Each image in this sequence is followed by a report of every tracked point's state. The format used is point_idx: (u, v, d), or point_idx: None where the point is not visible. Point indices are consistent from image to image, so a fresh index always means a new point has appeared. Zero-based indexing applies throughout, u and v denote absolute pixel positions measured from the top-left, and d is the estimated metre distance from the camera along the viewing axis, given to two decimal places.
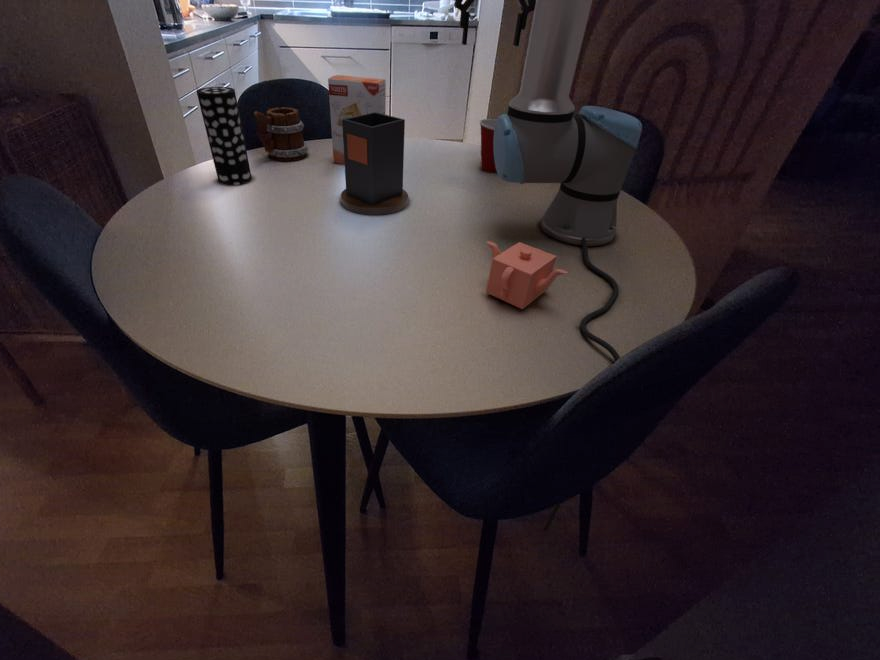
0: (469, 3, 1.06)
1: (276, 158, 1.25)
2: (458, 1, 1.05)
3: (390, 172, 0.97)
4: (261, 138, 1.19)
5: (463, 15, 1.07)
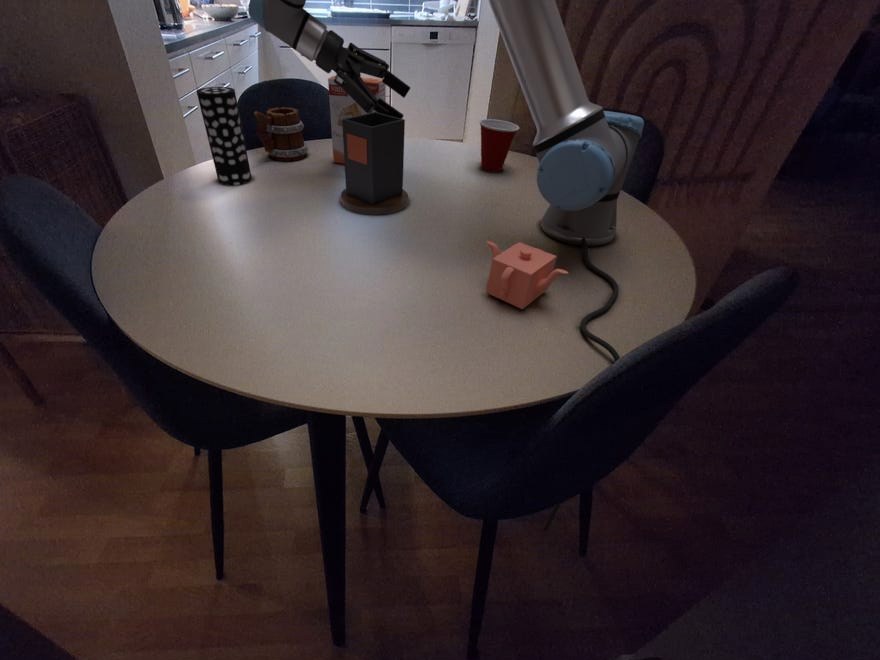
0: (372, 94, 0.97)
1: (276, 158, 1.25)
2: (369, 100, 0.95)
3: (390, 172, 0.97)
4: (261, 138, 1.19)
5: (379, 104, 0.98)
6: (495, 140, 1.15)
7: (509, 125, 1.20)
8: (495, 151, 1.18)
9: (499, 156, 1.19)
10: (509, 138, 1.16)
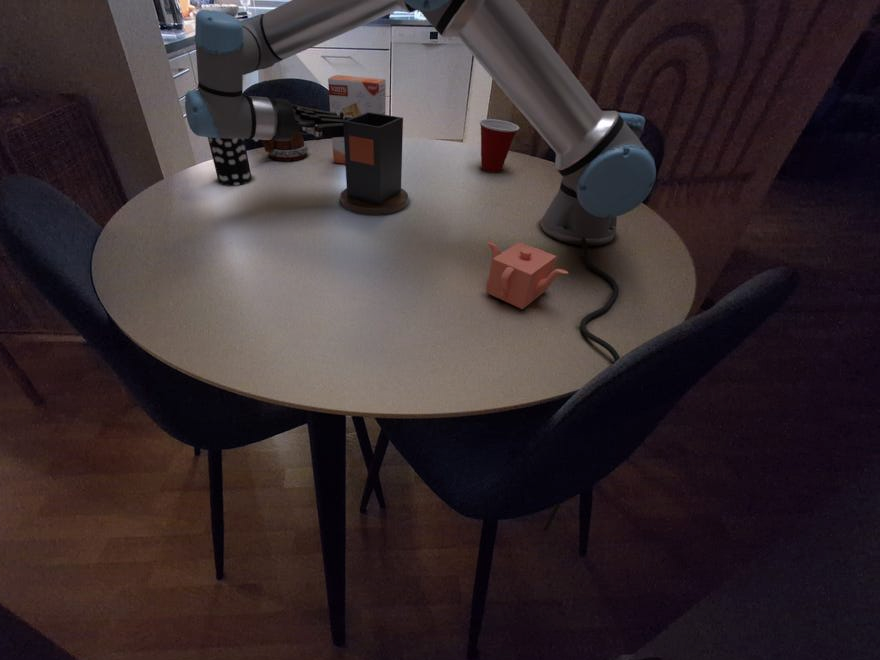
0: (339, 120, 0.94)
1: (276, 158, 1.25)
2: None
3: (392, 170, 0.98)
4: None
5: None
6: (495, 140, 1.15)
7: (509, 125, 1.20)
8: (495, 151, 1.18)
9: (499, 156, 1.19)
10: (509, 138, 1.16)
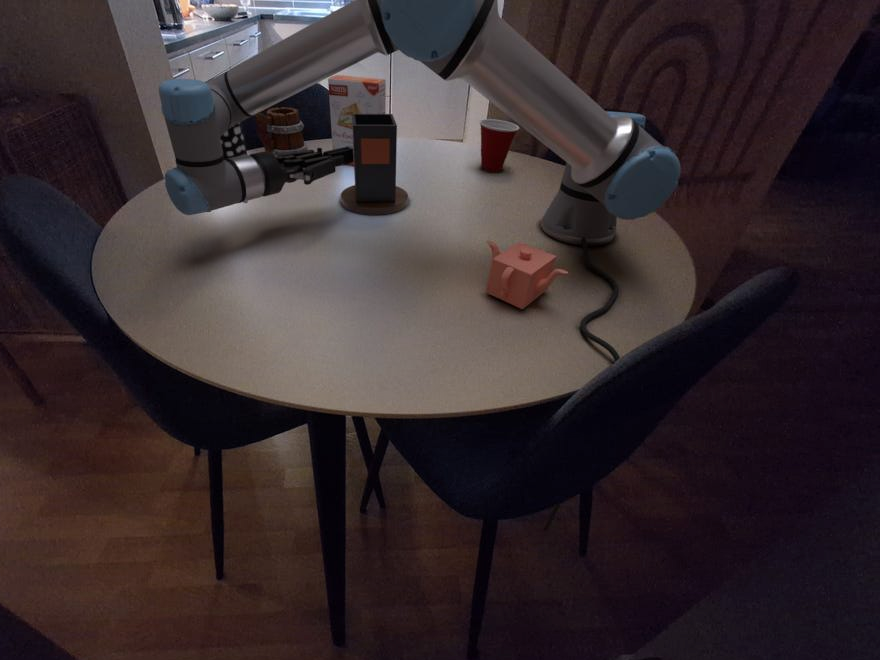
0: (323, 157, 0.88)
1: None
2: (331, 160, 0.87)
3: None
4: (261, 138, 1.19)
5: (334, 157, 0.90)
6: (495, 140, 1.15)
7: (509, 125, 1.20)
8: (495, 151, 1.18)
9: (499, 156, 1.19)
10: (509, 138, 1.16)
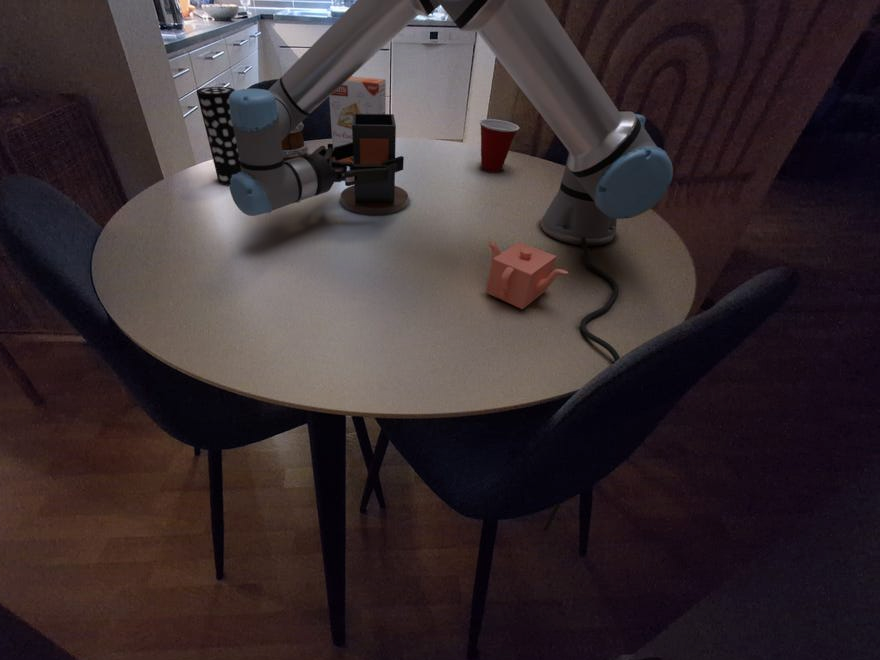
0: (376, 165, 0.90)
1: None
2: (385, 168, 0.88)
3: None
4: None
5: (387, 166, 0.91)
6: (495, 140, 1.15)
7: (509, 125, 1.20)
8: (495, 151, 1.18)
9: (499, 156, 1.19)
10: (509, 138, 1.16)
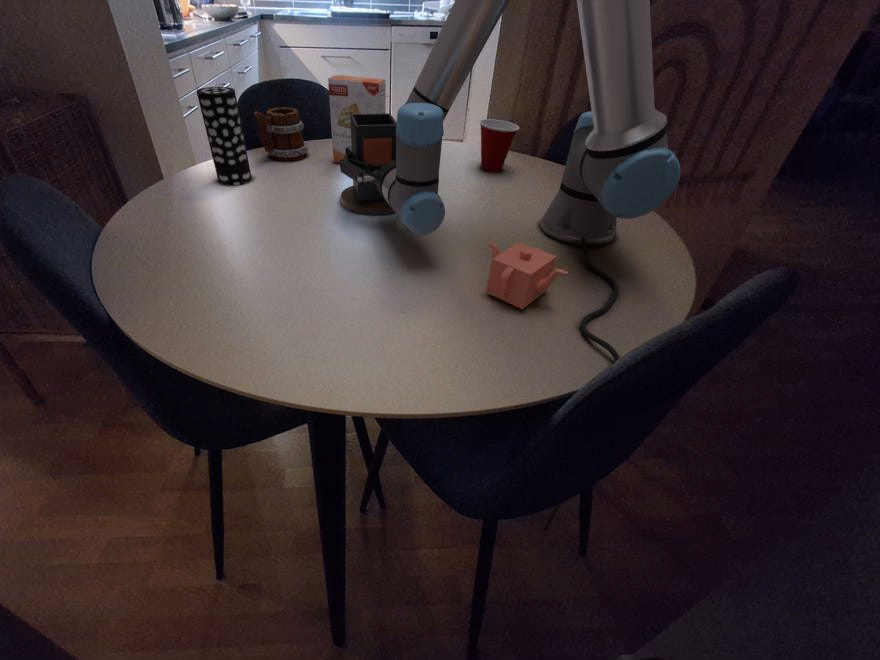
0: None
1: (276, 158, 1.25)
2: None
3: None
4: (261, 138, 1.19)
5: None
6: (495, 140, 1.15)
7: (509, 125, 1.20)
8: (495, 151, 1.18)
9: (499, 156, 1.19)
10: (509, 138, 1.16)
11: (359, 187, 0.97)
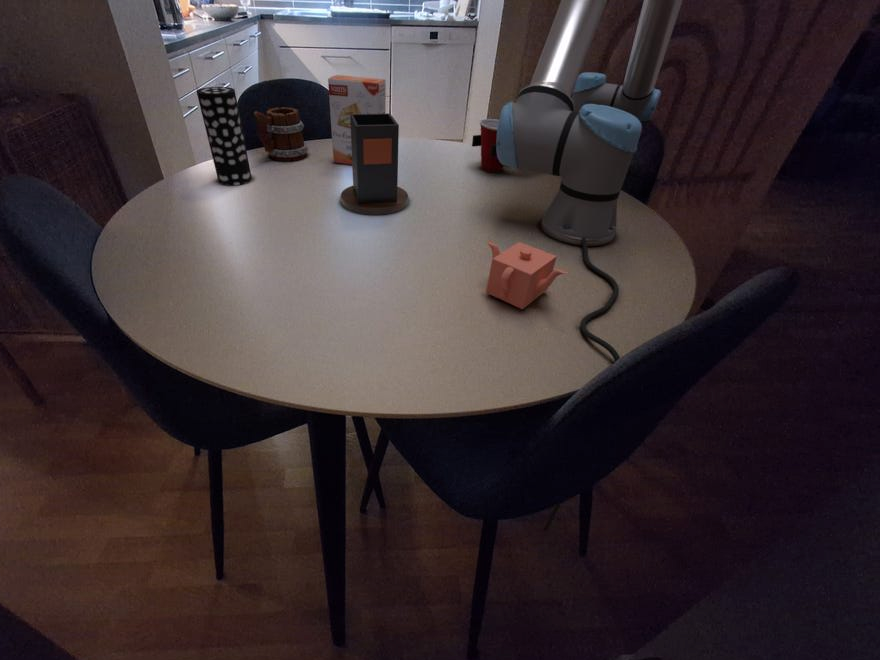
0: None
1: (276, 158, 1.25)
2: None
3: None
4: (261, 138, 1.19)
5: None
6: (495, 140, 1.15)
7: None
8: None
9: None
10: None
11: (359, 187, 0.97)
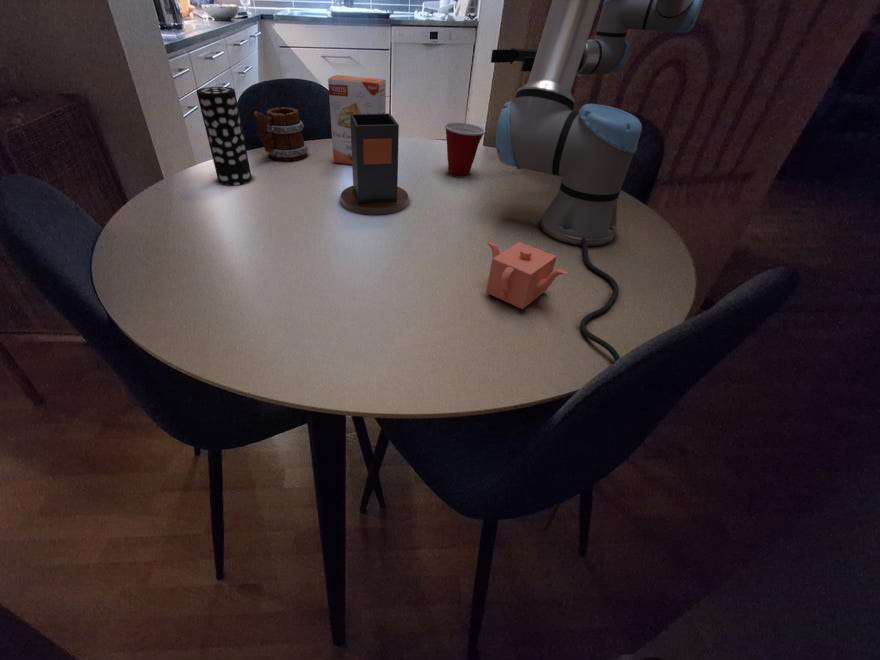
0: (520, 49, 1.13)
1: (276, 158, 1.25)
2: (515, 48, 1.15)
3: None
4: (261, 138, 1.19)
5: None
6: (460, 144, 1.12)
7: (476, 128, 1.16)
8: (461, 155, 1.14)
9: (465, 160, 1.15)
10: (475, 142, 1.12)
11: (359, 187, 0.97)
